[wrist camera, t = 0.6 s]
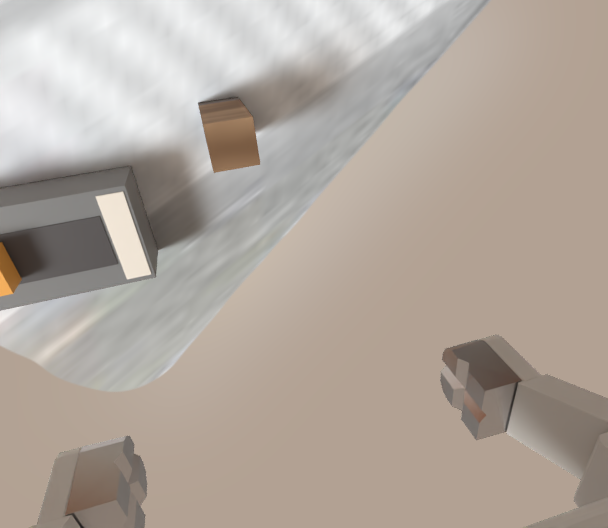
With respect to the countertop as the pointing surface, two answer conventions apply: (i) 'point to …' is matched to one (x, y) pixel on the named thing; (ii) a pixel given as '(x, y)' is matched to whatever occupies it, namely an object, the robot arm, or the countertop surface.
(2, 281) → the switch tab
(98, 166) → the countertop surface
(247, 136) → the brown wooden block
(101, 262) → the switch box
